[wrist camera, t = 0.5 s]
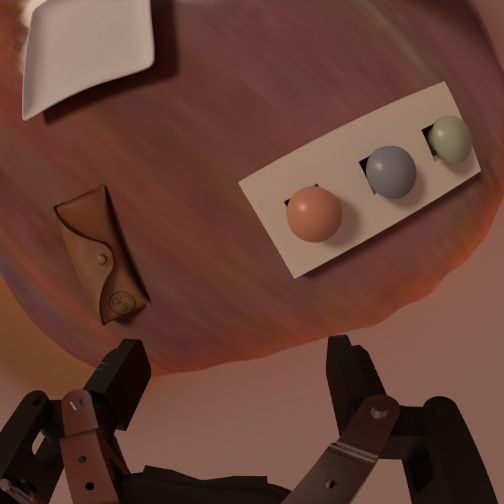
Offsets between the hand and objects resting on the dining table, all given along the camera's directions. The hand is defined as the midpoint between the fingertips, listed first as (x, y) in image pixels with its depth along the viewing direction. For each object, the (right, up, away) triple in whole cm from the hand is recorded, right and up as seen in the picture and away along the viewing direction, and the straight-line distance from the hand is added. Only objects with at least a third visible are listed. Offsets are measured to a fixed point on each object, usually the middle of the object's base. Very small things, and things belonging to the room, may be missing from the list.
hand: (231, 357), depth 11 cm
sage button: (+22, +17, +15) cm, 32 cm away
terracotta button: (+7, +9, +18) cm, 21 cm away
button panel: (+15, +14, +18) cm, 27 cm away
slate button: (+15, +13, +16) cm, 26 cm away
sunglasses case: (-19, +4, +24) cm, 31 cm away
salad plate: (-21, +34, +14) cm, 43 cm away
